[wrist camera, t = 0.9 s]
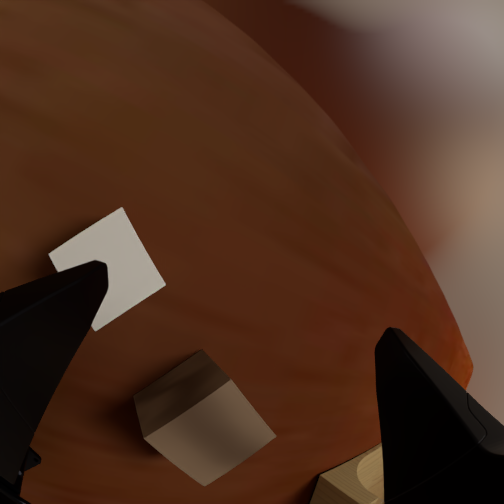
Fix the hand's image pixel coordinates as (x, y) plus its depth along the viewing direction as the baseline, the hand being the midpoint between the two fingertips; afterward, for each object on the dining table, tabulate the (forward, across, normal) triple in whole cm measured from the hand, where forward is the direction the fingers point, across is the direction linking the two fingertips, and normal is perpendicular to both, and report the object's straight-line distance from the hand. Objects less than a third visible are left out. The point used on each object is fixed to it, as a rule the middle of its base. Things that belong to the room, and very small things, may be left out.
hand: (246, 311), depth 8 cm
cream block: (+9, +10, +6) cm, 14 cm away
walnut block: (+7, +2, +16) cm, 18 cm away
